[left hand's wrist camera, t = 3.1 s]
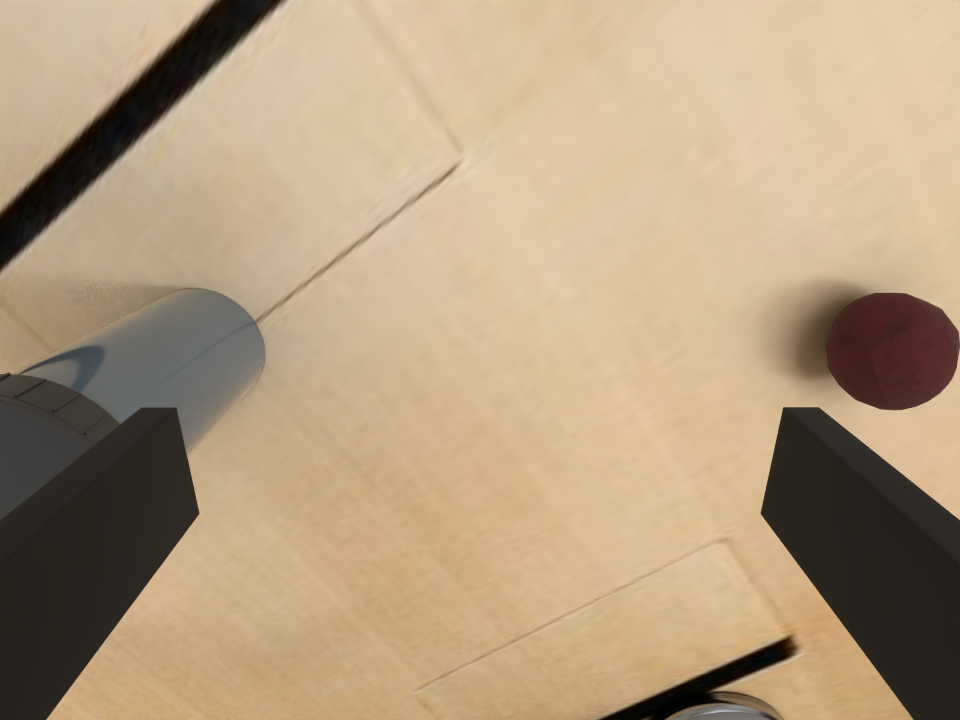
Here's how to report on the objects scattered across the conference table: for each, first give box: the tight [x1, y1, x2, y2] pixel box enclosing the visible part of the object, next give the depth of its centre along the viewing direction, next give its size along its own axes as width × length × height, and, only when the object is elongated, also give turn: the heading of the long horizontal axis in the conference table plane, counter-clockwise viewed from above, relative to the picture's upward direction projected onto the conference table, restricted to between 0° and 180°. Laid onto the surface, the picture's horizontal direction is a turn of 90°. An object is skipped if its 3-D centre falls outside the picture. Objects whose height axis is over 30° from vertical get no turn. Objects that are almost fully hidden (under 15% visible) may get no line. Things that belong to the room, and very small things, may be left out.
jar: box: [11, 288, 265, 458], centre depth 33 cm, size 9×9×18 cm
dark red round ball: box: [826, 293, 960, 410], centre depth 38 cm, size 7×8×7 cm
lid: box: [0, 373, 120, 520], centre depth 25 cm, size 10×10×2 cm
